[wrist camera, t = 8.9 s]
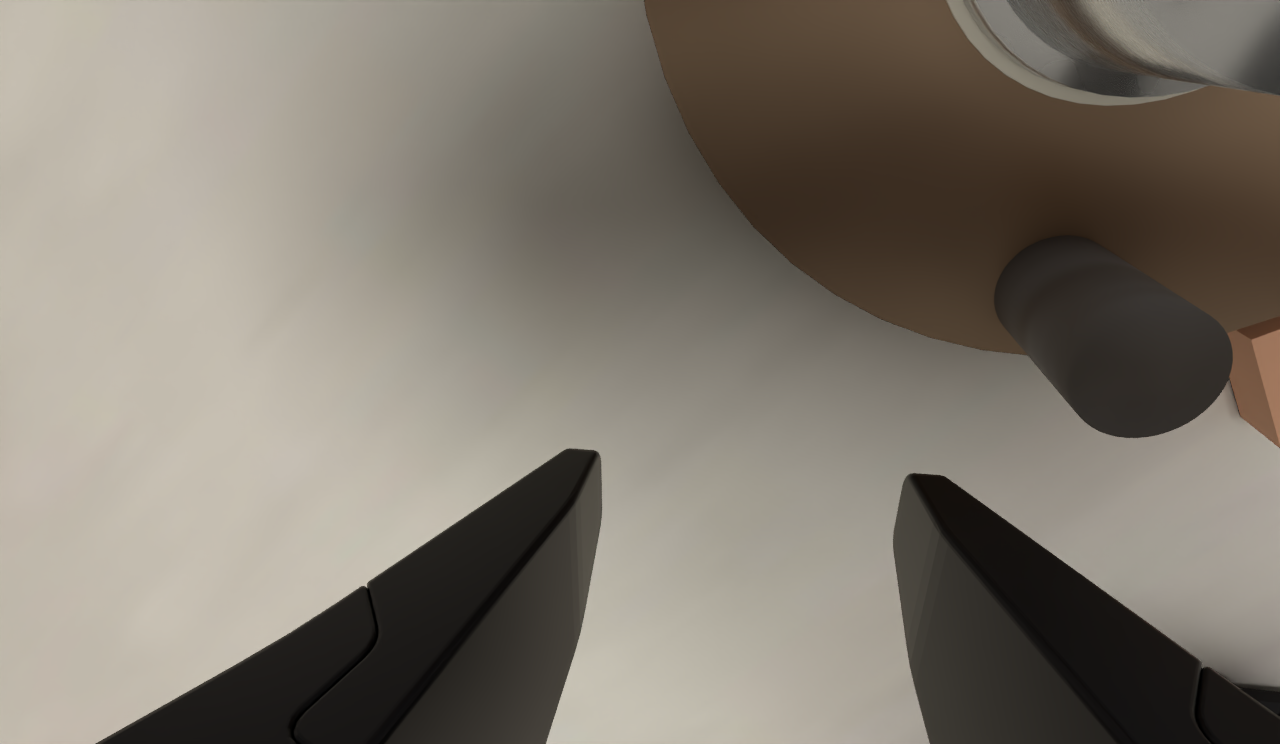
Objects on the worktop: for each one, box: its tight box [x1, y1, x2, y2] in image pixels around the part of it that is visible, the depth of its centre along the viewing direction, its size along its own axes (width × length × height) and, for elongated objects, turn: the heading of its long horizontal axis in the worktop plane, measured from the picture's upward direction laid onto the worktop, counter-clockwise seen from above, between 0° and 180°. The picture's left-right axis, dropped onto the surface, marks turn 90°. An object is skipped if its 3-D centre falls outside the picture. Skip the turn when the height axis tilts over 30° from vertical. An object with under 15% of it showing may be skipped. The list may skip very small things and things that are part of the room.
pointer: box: [1227, 316, 1280, 448], centre depth 17 cm, size 3×1×2 cm, turn 30°
